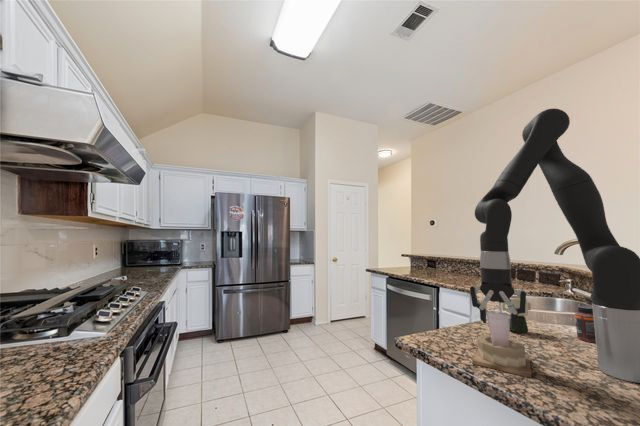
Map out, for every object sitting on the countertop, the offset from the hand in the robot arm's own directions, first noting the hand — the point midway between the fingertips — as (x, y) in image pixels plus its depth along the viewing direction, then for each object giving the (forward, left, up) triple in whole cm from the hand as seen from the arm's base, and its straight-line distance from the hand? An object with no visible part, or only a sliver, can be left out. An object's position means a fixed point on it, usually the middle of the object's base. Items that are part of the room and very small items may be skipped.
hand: (498, 324), depth 77 cm
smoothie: (0, 0, -6) cm, 6 cm away
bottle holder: (0, 0, -10) cm, 10 cm away
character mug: (-4, -35, -10) cm, 37 cm away
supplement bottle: (-24, -39, -10) cm, 47 cm away
